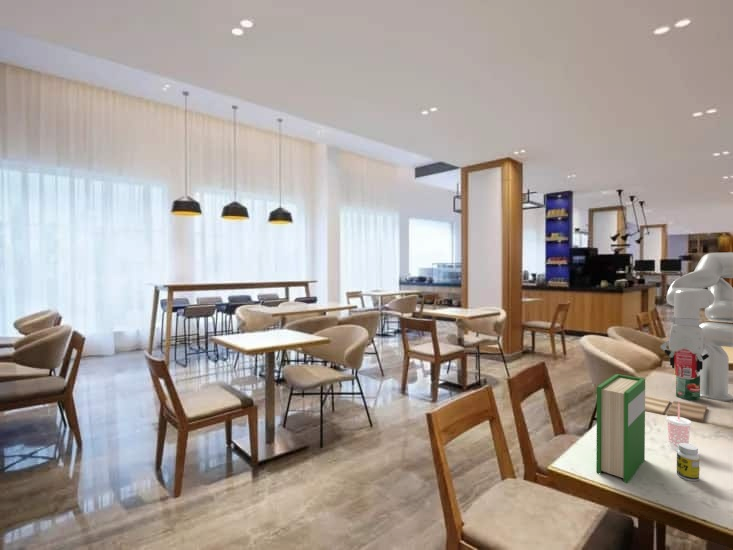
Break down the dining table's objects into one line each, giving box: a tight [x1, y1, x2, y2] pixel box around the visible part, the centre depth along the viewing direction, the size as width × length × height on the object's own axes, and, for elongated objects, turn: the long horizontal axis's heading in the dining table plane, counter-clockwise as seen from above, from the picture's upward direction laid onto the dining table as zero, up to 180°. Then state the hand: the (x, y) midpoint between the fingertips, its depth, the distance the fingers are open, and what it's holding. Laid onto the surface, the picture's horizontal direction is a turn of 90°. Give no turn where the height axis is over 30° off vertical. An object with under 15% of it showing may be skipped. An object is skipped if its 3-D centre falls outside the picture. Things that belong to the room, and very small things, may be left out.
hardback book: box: [595, 373, 646, 484], centre depth 112 cm, size 18×7×24 cm, turn 133°
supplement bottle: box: [676, 443, 701, 482], centre depth 106 cm, size 5×5×8 cm
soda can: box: [673, 347, 699, 379], centre depth 149 cm, size 7×7×12 cm
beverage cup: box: [666, 403, 693, 451], centre depth 122 cm, size 6×6×14 cm
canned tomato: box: [675, 373, 701, 402], centre depth 165 cm, size 8×8×11 cm
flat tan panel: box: [645, 395, 671, 415], centre depth 157 cm, size 18×10×2 cm, turn 136°
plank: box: [666, 400, 708, 424], centre depth 149 cm, size 18×10×2 cm, turn 136°
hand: (686, 368), depth 149 cm, fingers closed on soda can, 6 cm apart
